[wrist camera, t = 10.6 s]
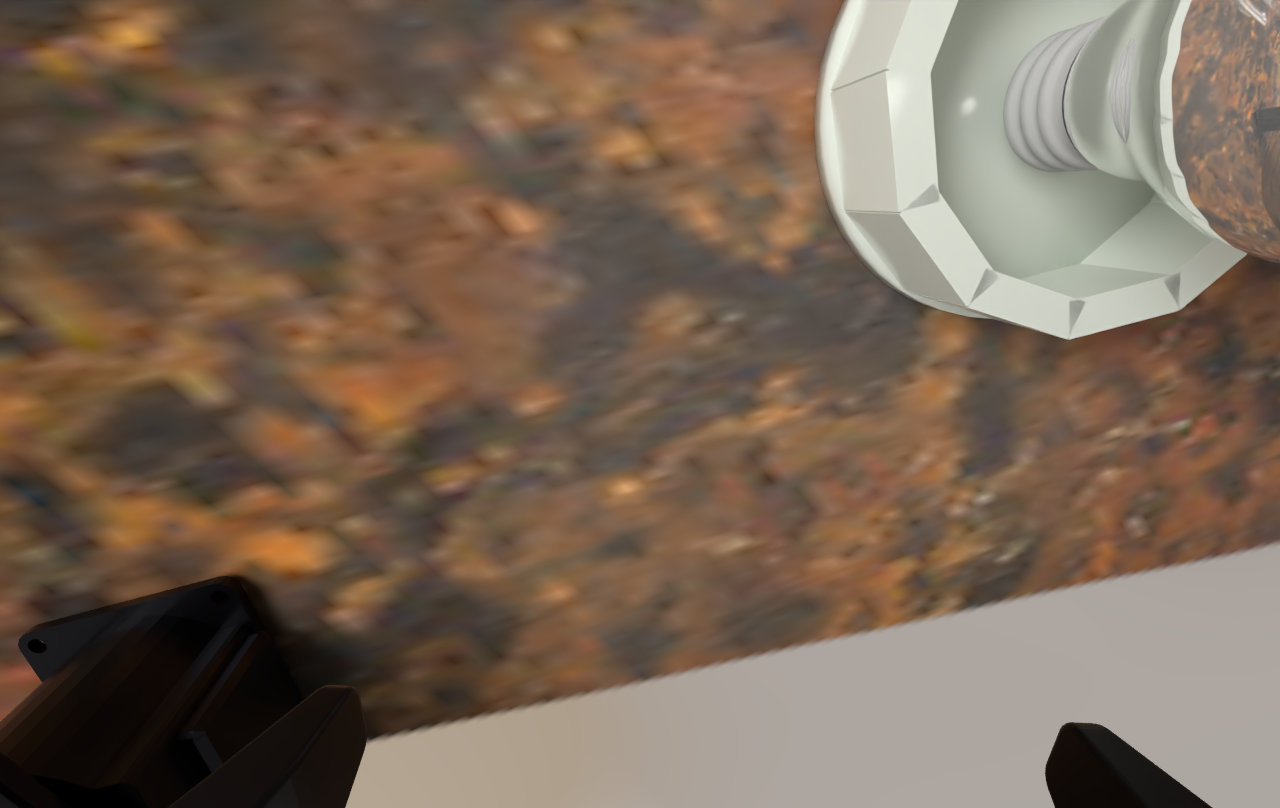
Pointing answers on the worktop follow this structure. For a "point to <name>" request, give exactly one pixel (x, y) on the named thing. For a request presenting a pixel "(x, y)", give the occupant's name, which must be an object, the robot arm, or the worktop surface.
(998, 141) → the bulb holder
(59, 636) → the robot arm
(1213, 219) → the light bulb
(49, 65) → the worktop surface
